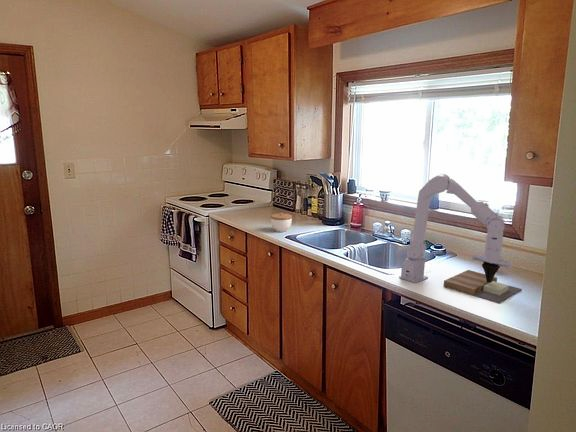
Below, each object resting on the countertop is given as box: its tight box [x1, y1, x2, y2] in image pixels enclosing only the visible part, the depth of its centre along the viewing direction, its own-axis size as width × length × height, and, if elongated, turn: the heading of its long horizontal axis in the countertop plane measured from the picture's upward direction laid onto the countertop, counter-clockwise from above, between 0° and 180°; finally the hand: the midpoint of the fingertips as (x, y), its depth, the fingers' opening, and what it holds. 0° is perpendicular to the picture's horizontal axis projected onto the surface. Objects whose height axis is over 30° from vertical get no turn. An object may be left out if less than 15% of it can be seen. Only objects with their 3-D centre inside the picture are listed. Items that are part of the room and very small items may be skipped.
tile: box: [483, 281, 510, 295], centre depth 163 cm, size 8×6×2 cm
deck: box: [443, 269, 498, 296], centre depth 169 cm, size 20×12×2 cm, turn 131°
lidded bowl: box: [270, 211, 293, 233], centre depth 254 cm, size 13×13×11 cm
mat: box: [472, 285, 523, 304], centre depth 162 cm, size 20×10×1 cm, turn 131°
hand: (489, 281), depth 164 cm, fingers closed
